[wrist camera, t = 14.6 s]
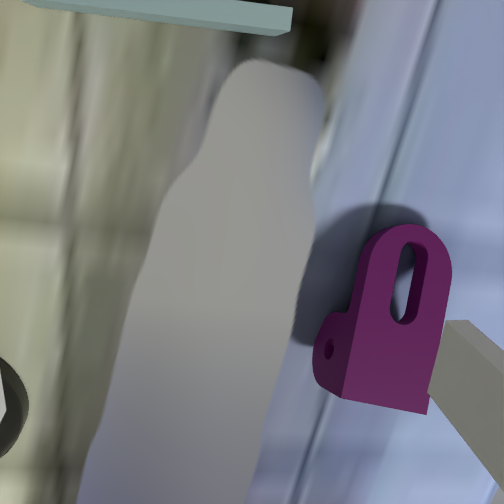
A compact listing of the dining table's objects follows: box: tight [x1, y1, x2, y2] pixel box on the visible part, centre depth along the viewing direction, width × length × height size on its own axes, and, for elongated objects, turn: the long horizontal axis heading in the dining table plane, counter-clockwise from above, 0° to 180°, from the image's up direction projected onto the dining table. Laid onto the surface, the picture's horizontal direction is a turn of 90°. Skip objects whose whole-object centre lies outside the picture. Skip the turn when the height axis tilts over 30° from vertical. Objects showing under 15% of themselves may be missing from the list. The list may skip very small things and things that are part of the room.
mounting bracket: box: [312, 224, 452, 415], centre depth 48 cm, size 9×8×18 cm
